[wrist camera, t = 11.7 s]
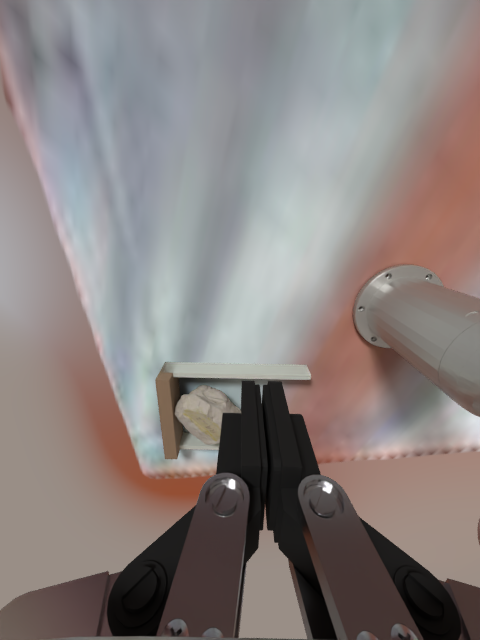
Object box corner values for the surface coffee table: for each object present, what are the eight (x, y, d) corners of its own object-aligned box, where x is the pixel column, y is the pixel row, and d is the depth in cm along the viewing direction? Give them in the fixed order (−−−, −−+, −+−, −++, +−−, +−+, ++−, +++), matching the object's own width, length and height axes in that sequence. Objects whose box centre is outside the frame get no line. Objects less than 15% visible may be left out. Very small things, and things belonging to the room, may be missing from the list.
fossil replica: (231, 432, 47) (254, 390, 44) (234, 472, 39) (263, 423, 37) (168, 413, 44) (190, 367, 42) (159, 452, 36) (185, 398, 34)
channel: (306, 364, 41) (314, 383, 37) (296, 437, 47) (302, 461, 42) (165, 362, 41) (155, 380, 37) (172, 435, 47) (165, 458, 42)
